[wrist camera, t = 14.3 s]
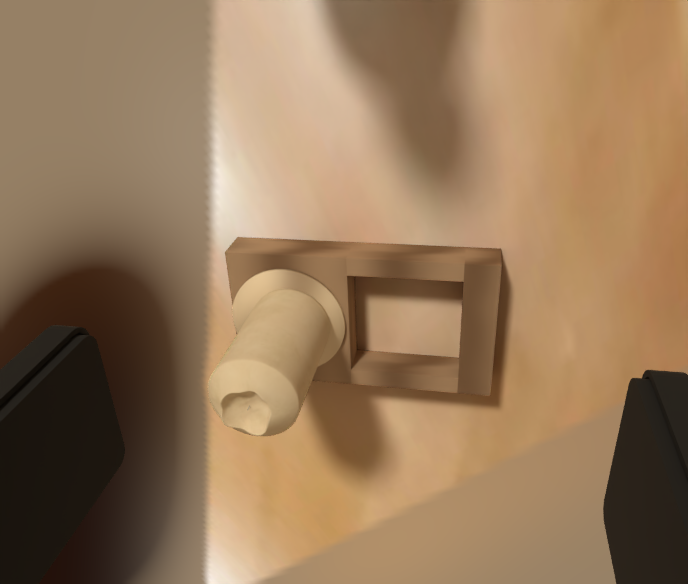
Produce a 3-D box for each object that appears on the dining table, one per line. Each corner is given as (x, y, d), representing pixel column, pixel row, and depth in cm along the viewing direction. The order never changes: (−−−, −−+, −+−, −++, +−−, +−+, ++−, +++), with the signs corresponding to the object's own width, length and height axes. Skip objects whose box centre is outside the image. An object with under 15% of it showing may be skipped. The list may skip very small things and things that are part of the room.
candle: (346, 339, 44) (311, 437, 35) (281, 366, 46) (234, 464, 37) (303, 274, 42) (256, 361, 33) (238, 305, 44) (178, 394, 36)
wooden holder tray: (501, 248, 41) (501, 268, 39) (490, 374, 46) (490, 398, 44) (237, 237, 45) (223, 254, 42) (252, 355, 50) (240, 376, 47)
